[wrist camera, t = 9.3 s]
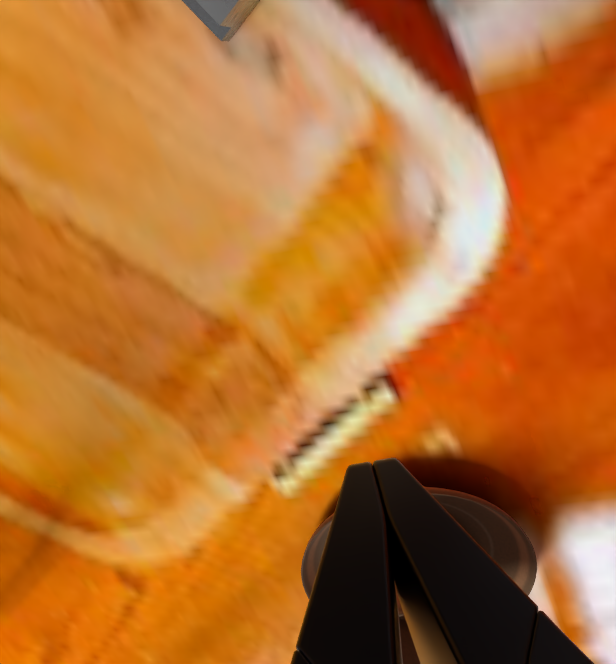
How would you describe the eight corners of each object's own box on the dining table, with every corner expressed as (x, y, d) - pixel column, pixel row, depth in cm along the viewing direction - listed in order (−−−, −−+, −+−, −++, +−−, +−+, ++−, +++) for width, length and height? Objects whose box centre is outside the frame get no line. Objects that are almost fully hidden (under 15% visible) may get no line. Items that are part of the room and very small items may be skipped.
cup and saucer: (563, 565, 29) (615, 685, 23) (382, 636, 33) (391, 753, 27) (450, 426, 25) (482, 533, 19) (259, 527, 29) (240, 639, 23)
